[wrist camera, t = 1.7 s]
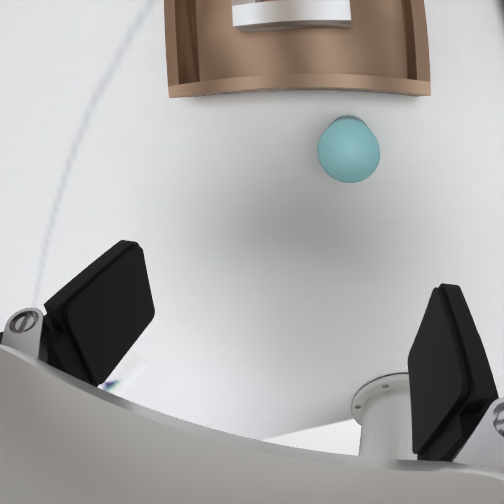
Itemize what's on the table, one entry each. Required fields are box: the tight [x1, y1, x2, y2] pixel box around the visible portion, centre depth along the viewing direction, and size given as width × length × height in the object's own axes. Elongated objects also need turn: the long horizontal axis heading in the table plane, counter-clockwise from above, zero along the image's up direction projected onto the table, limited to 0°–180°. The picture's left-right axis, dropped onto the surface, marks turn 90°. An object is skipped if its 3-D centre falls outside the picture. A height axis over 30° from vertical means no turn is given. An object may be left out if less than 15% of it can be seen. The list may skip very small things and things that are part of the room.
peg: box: [318, 115, 380, 183], centre depth 22 cm, size 4×4×10 cm
